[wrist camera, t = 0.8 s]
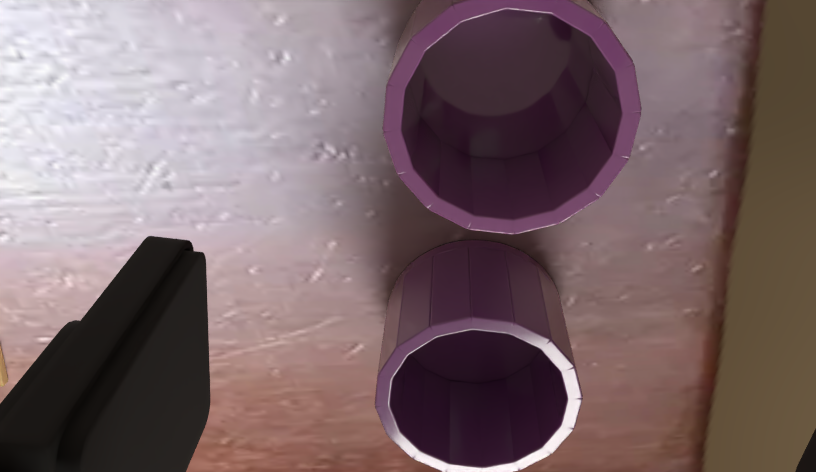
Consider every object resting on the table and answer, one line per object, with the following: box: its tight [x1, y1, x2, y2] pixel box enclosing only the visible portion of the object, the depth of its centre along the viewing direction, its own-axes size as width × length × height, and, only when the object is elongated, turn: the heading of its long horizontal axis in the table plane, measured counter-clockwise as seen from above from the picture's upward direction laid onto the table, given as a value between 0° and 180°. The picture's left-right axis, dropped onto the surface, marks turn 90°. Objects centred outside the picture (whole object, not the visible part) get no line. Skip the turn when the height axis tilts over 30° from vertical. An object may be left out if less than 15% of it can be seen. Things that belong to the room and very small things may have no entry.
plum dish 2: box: [375, 240, 583, 472], centre depth 26 cm, size 7×7×5 cm
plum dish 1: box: [383, 0, 641, 234], centre depth 21 cm, size 7×7×5 cm
